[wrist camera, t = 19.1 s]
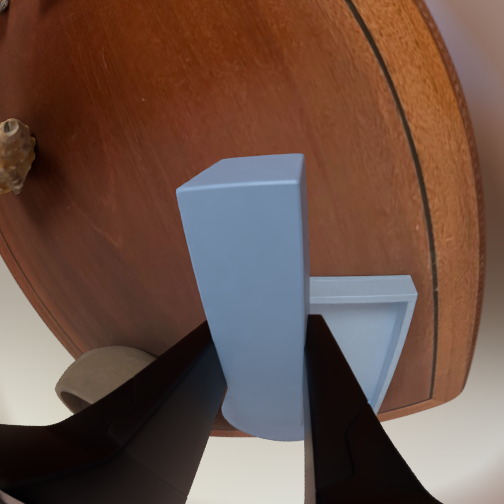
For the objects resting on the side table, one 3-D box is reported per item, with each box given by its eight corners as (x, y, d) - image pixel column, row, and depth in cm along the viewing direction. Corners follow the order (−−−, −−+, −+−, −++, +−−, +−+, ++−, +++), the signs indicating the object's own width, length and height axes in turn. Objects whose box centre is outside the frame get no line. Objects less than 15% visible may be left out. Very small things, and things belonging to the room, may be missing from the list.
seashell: (37, 94, 19) (-10, 81, 10) (73, 146, 23) (33, 150, 14) (-12, 155, 19) (-64, 168, 10) (21, 205, 23) (-25, 234, 14)
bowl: (94, 367, 35) (62, 415, 27) (95, 295, 26) (38, 361, 18) (193, 422, 36) (172, 476, 28) (240, 376, 27) (212, 461, 19)
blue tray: (256, 276, 20) (249, 296, 18) (409, 274, 18) (418, 294, 16) (274, 397, 28) (270, 414, 26) (375, 398, 25) (376, 415, 23)
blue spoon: (180, 164, 7) (121, 196, 5) (351, 152, 6) (375, 178, 4) (239, 406, 13) (226, 452, 11) (329, 412, 12) (326, 461, 10)
